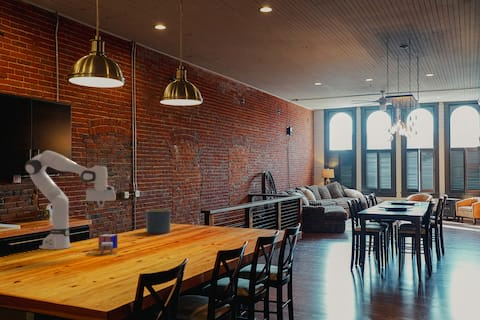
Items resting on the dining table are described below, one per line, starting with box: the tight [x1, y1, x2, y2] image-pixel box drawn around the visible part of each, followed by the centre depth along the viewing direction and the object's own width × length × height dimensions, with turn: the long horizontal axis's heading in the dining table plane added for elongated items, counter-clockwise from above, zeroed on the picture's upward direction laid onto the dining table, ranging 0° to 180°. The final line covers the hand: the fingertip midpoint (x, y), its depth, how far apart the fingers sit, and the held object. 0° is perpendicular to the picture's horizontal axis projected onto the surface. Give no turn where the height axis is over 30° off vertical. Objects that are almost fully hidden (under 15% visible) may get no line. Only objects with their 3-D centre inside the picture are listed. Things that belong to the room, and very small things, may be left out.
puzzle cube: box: [98, 233, 118, 251], centre depth 325 cm, size 10×10×10 cm
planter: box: [145, 208, 172, 235], centre depth 405 cm, size 22×22×20 cm
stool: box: [100, 242, 114, 256], centre depth 305 cm, size 7×7×7 cm
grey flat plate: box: [85, 251, 118, 257], centre depth 304 cm, size 20×12×1 cm, turn 102°
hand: (101, 207), depth 315 cm, fingers closed
